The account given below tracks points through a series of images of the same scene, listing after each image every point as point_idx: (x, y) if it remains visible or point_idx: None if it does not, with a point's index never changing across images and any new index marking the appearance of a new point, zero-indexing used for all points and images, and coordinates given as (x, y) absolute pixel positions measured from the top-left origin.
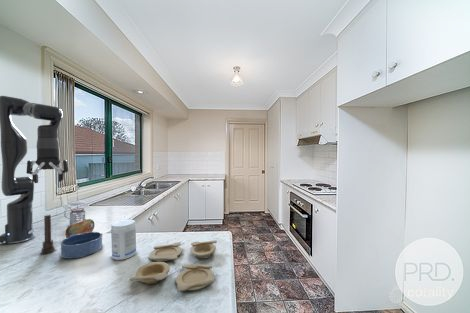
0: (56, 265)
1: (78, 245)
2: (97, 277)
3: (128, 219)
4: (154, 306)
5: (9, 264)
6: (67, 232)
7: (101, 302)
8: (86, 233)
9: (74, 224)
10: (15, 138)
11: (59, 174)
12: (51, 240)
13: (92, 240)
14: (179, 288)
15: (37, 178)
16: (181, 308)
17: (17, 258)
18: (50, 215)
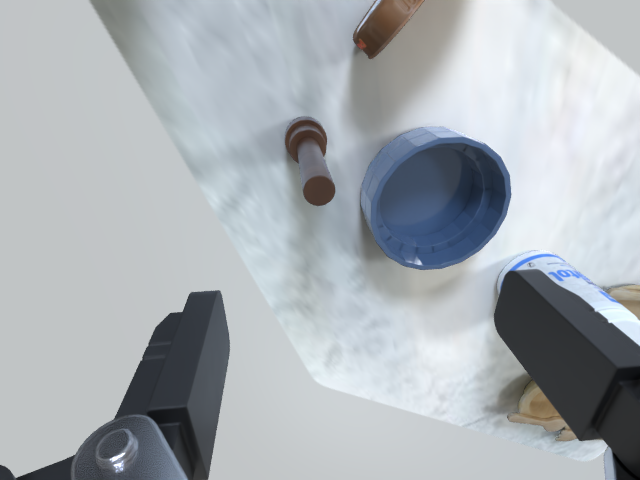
0: (361, 263)
1: (428, 268)
2: (453, 351)
3: (638, 324)
4: (514, 439)
5: (218, 196)
6: (367, 51)
7: (453, 413)
8: (455, 142)
9: (407, 13)
10: None
11: (587, 431)
12: (320, 146)
13: (462, 152)
14: (561, 438)
15: (210, 363)
16: (541, 449)
17: (217, 152)
18: (334, 192)
